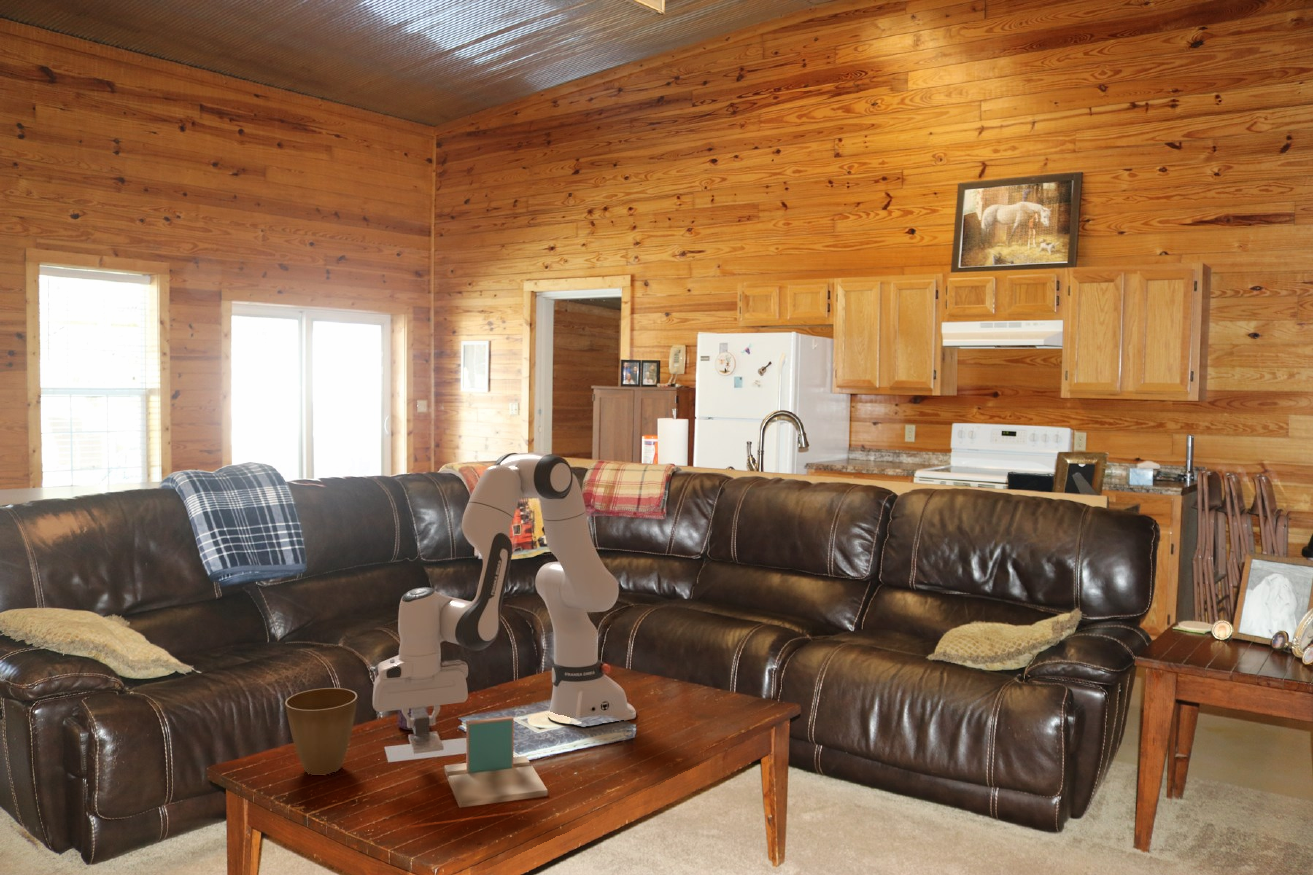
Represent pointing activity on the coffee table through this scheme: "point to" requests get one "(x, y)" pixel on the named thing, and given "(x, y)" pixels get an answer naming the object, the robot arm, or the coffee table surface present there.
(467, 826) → the coffee table surface
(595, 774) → the coffee table surface
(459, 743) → the tool mat
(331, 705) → the plant pot
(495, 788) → the tile stand
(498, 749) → the tile
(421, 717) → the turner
